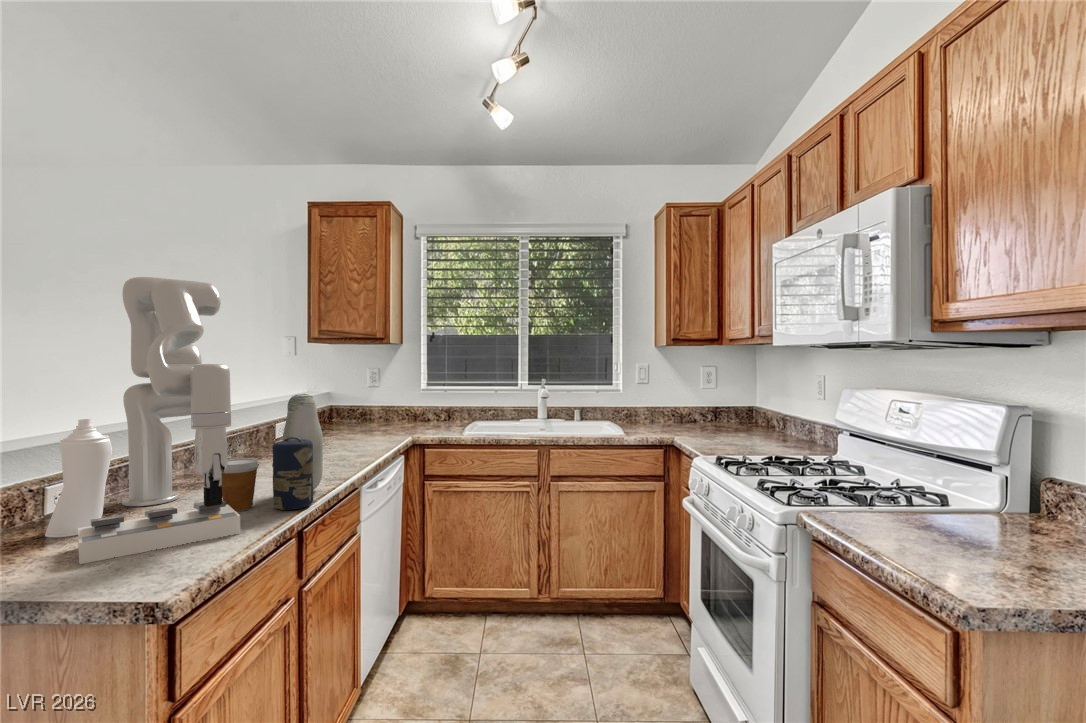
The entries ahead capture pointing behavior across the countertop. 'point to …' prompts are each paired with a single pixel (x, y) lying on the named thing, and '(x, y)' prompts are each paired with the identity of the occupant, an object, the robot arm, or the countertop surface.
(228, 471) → the disposable coffee cup
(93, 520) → the plate
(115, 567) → the countertop surface
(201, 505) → the rocker
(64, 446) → the white bottle
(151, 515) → the rocker middle
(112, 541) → the switch unit
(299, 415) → the grey bottle
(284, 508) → the canister
